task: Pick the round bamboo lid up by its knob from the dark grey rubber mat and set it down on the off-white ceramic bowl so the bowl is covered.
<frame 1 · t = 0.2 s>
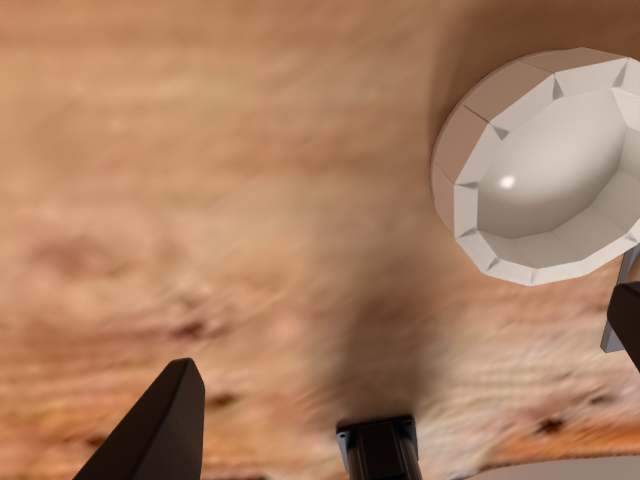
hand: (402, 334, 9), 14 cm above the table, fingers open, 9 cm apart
bowl: (528, 158, 23), on the table
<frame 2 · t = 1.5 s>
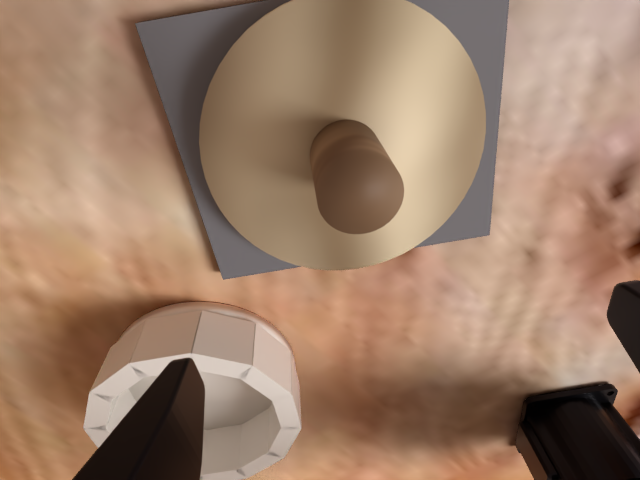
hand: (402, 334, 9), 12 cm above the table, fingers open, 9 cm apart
mat: (340, 142, 19), on the table
lid: (342, 147, 18), point 1 cm above the table, touching mat
bowl: (207, 369, 26), on the table
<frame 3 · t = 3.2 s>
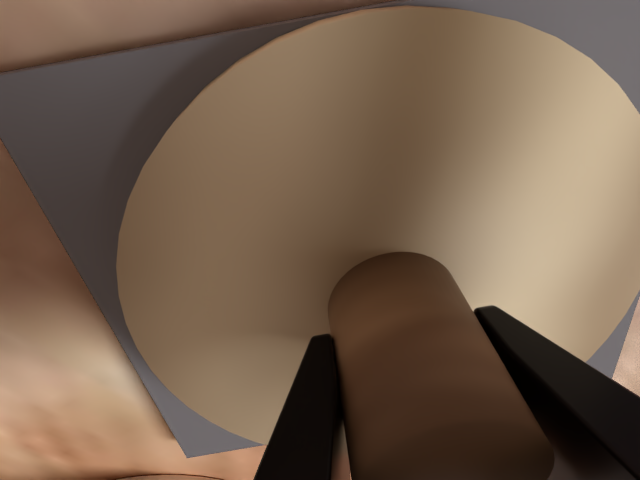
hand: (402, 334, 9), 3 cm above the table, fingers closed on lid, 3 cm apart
mat: (378, 265, 11), on the table
lid: (383, 279, 10), point 1 cm above the table, touching gripper, mat
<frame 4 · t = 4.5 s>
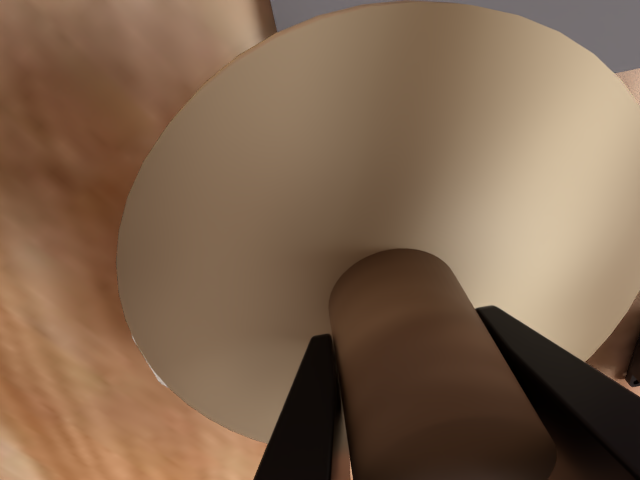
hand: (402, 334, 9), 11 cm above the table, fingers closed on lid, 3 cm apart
lid: (384, 276, 10), point 9 cm above the table, touching gripper
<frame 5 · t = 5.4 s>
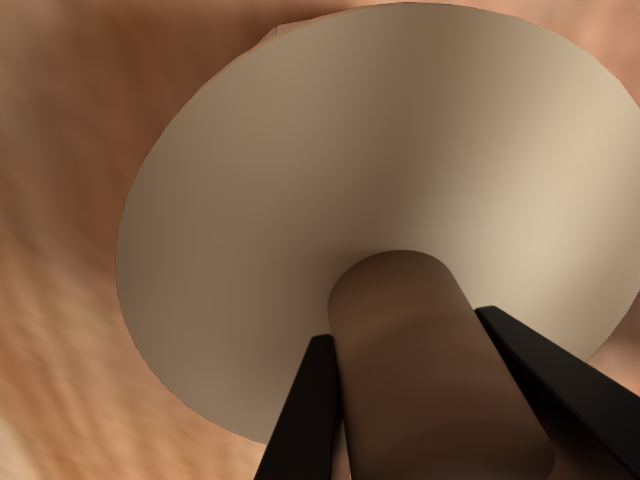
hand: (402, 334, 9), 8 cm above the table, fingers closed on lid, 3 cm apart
lid: (383, 278, 10), point 6 cm above the table, touching gripper
when the fingers open (7 cm above the table, at t = 5.8 s): lid drops 1 cm, resting on bowl.
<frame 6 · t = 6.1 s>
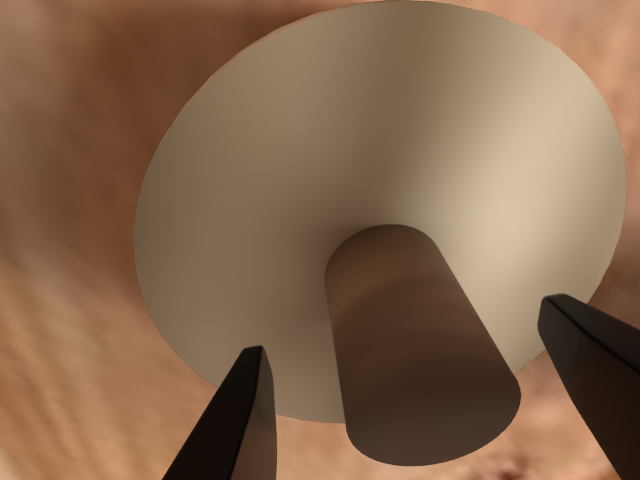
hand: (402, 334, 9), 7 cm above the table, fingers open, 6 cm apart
lid: (376, 253, 11), point 4 cm above the table, touching bowl
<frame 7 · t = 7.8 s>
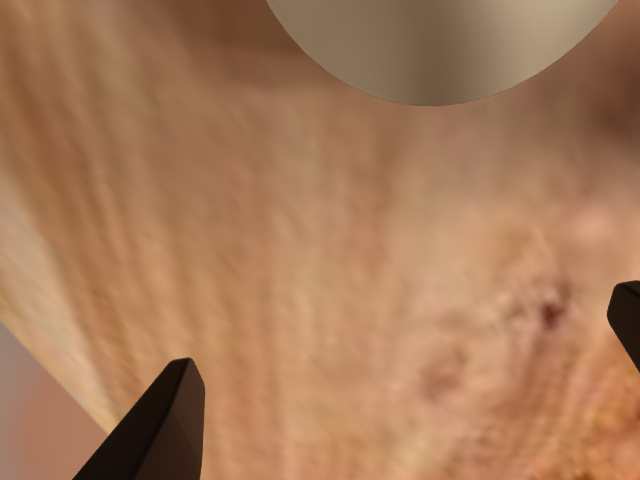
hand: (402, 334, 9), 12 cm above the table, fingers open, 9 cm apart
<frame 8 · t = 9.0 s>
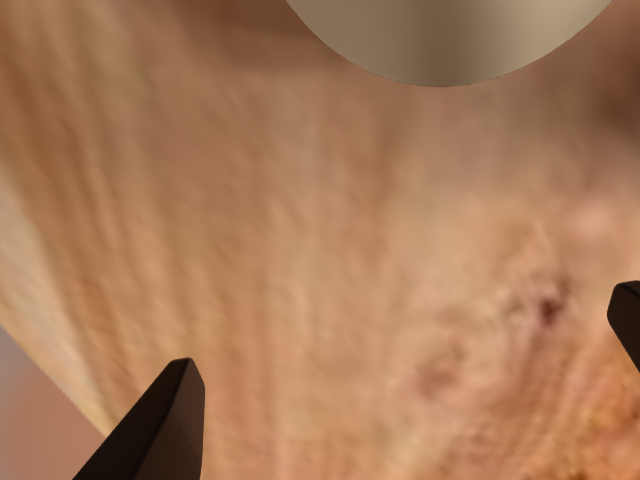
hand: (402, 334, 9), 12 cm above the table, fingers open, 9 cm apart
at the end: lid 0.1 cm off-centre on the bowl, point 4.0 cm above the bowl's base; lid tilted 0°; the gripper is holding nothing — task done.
